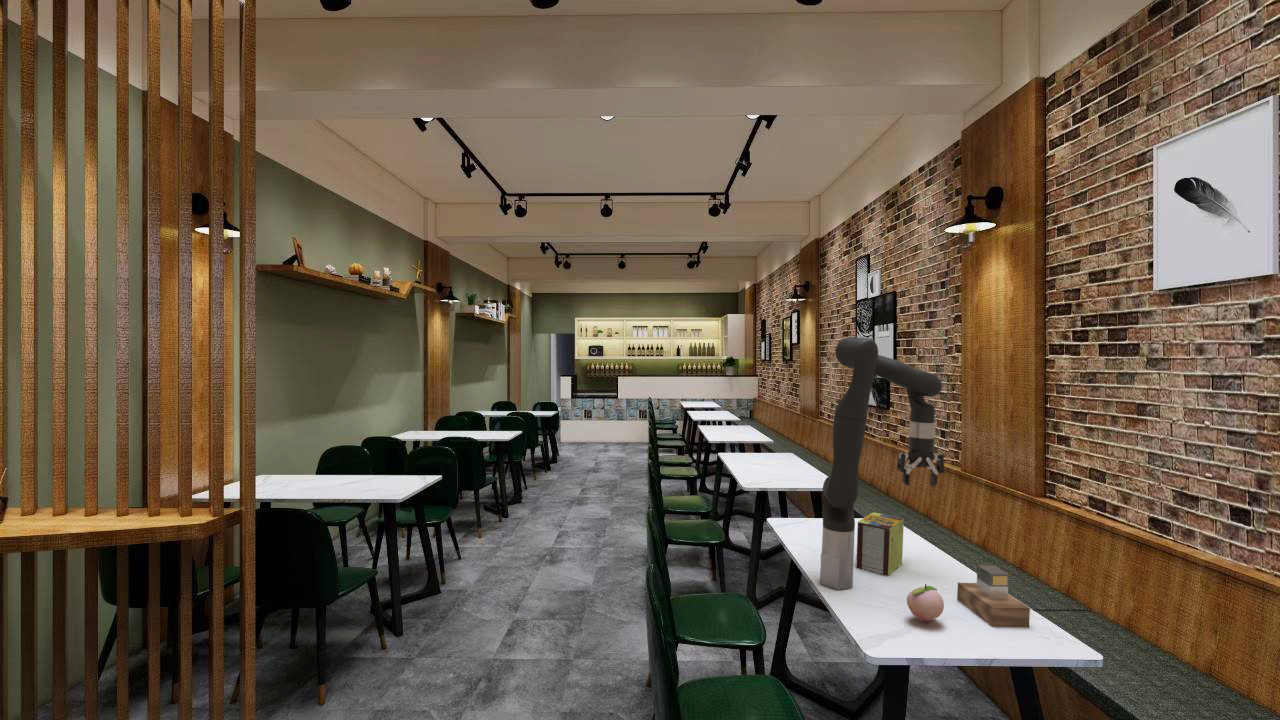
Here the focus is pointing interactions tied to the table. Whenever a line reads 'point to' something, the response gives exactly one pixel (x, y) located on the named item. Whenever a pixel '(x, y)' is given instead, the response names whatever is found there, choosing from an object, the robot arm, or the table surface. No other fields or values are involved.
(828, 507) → the robot arm
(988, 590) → the housing
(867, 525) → the protein box
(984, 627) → the table surface
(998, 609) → the walnut stand
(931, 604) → the decorative fruit
